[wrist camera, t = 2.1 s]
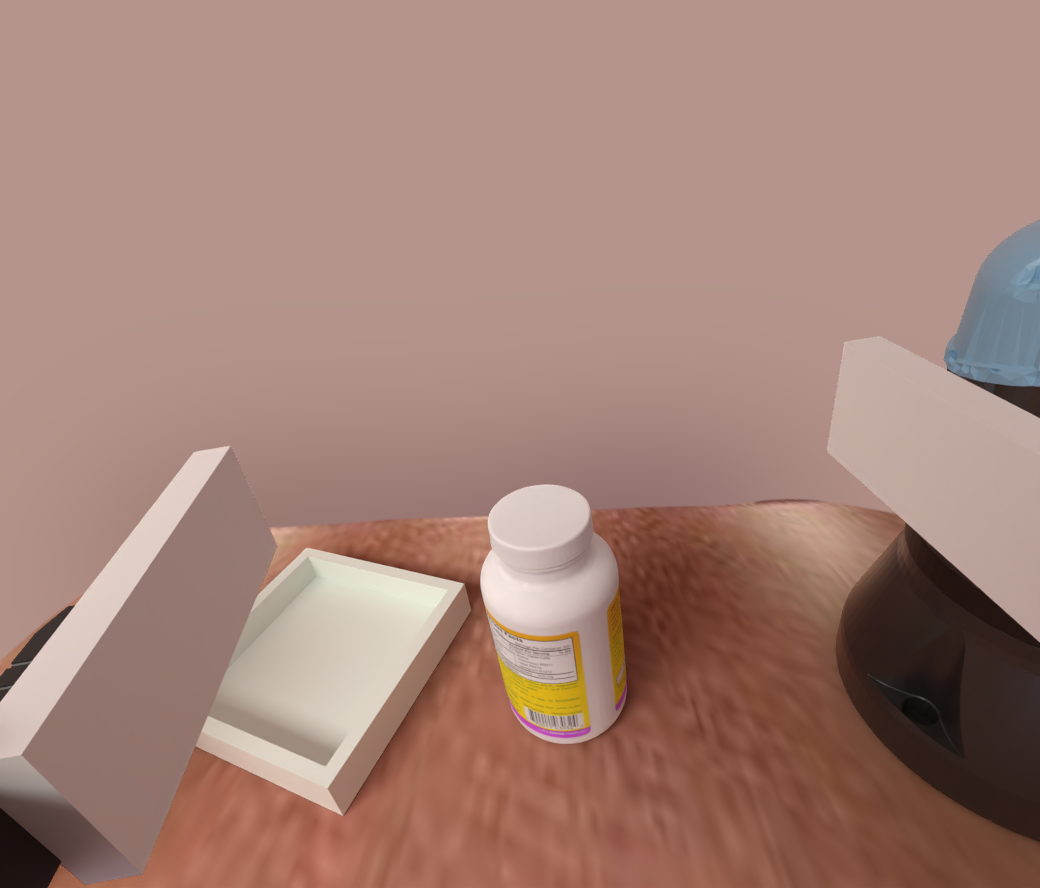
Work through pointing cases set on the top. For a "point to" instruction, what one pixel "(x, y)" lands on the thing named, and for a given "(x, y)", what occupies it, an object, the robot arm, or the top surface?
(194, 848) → the top surface
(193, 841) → the top surface
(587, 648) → the supplement bottle
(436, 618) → the tray
